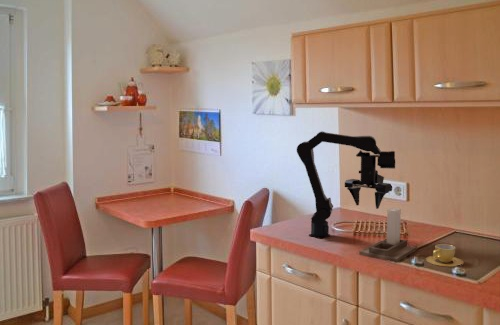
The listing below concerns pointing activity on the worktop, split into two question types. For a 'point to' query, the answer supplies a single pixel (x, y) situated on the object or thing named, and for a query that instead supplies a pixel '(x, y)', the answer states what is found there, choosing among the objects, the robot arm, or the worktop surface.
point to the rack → (388, 250)
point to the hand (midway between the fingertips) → (367, 206)
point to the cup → (444, 255)
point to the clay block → (393, 226)
